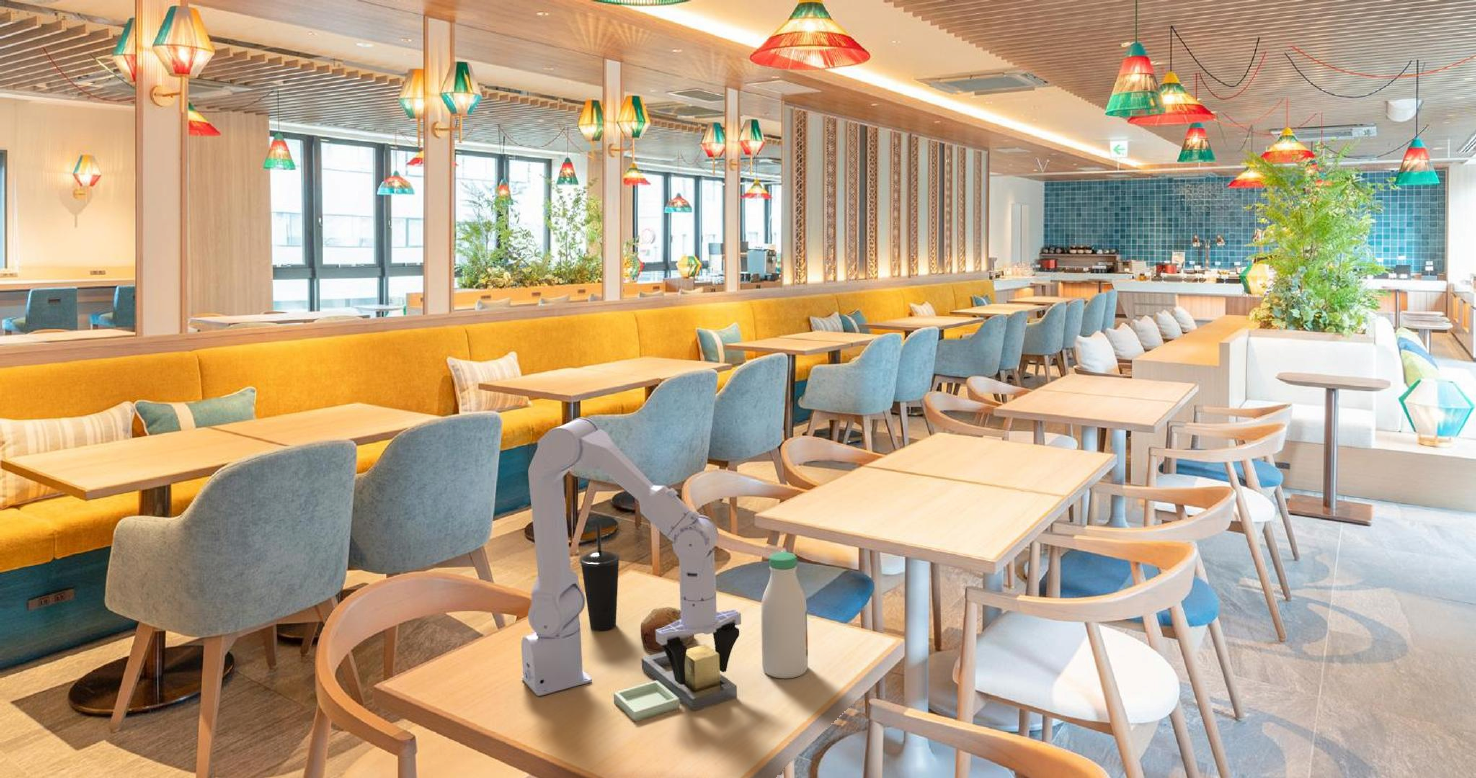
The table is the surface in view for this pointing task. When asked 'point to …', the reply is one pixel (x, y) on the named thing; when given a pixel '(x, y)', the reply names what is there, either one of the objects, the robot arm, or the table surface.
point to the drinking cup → (601, 585)
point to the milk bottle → (784, 620)
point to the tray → (646, 700)
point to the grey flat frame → (686, 696)
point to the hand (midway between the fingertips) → (700, 675)
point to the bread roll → (659, 626)
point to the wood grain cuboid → (701, 668)
